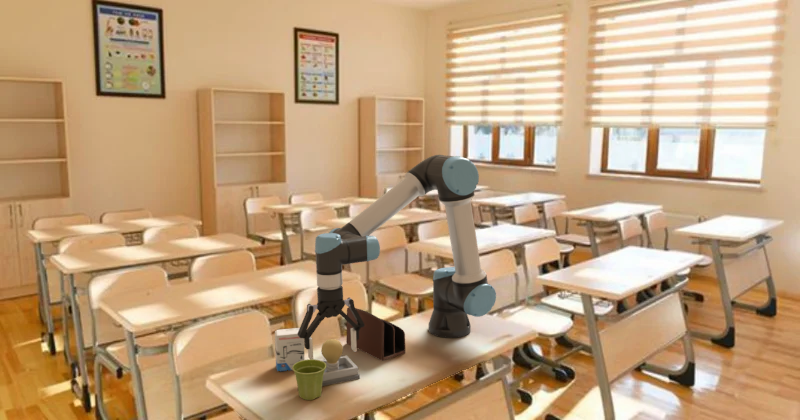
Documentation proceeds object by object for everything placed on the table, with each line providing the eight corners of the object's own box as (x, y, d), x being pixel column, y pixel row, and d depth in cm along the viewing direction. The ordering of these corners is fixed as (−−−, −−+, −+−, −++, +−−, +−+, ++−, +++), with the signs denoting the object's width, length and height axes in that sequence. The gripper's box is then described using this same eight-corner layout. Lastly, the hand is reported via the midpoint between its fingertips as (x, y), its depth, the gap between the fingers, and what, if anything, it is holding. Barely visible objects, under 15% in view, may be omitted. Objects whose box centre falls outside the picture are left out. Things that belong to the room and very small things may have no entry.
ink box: (277, 372, 184) (275, 335, 182) (275, 365, 189) (274, 329, 187) (305, 368, 186) (304, 332, 184) (303, 362, 191) (302, 327, 189)
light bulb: (339, 376, 178) (338, 344, 176) (319, 375, 179) (318, 343, 178) (345, 368, 184) (345, 336, 182) (326, 366, 185) (325, 335, 184)
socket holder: (346, 363, 190) (345, 354, 189) (359, 378, 179) (359, 368, 179) (305, 371, 184) (305, 361, 184) (317, 387, 174) (317, 377, 173)
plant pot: (328, 387, 174) (327, 358, 172) (325, 402, 164) (324, 372, 163) (296, 388, 173) (294, 359, 172) (291, 403, 164) (290, 373, 163)
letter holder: (382, 361, 191) (381, 319, 189) (346, 344, 206) (345, 304, 204) (406, 353, 198) (405, 312, 196) (369, 337, 213) (368, 298, 210)
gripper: (364, 277, 186) (366, 342, 189) (284, 288, 176) (288, 357, 179) (373, 283, 179) (375, 351, 183) (291, 295, 169) (295, 367, 172)
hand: (332, 354), depth 181 cm, fingers open, 13 cm apart
